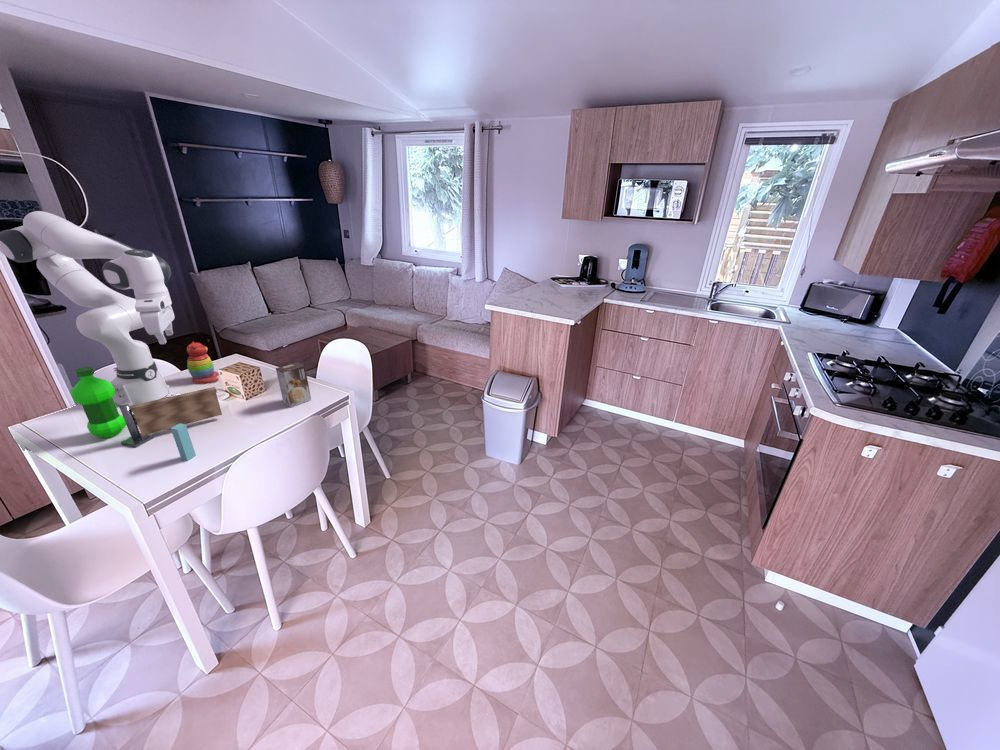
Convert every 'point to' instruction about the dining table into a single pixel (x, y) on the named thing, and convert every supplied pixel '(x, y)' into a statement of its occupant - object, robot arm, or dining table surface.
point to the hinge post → (132, 429)
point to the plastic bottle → (97, 404)
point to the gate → (176, 410)
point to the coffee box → (293, 384)
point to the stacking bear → (200, 364)
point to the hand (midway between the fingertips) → (166, 339)
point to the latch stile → (183, 441)
